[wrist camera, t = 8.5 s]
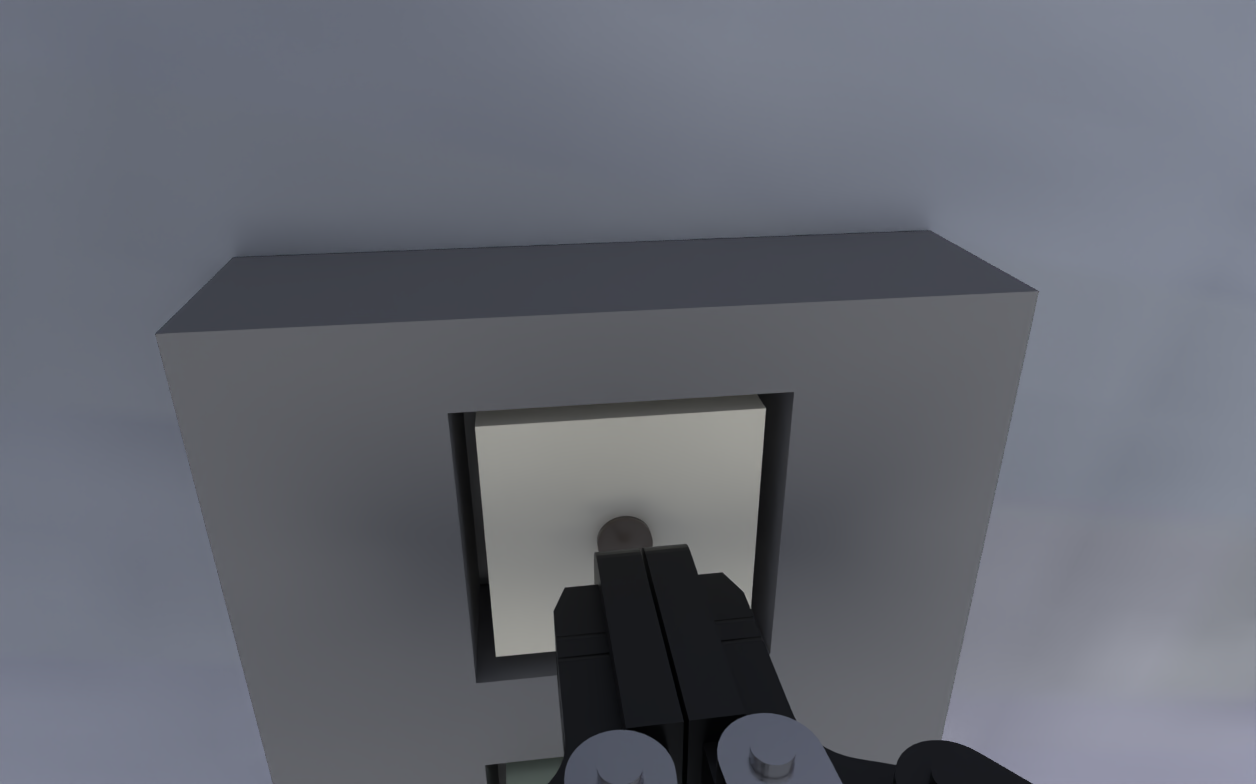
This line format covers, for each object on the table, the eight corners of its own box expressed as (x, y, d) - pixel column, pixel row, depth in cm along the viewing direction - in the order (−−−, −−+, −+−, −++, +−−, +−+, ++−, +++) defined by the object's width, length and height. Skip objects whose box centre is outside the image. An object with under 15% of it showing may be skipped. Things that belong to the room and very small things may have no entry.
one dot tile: (478, 367, 16) (474, 432, 14) (731, 353, 17) (769, 413, 14) (496, 575, 18) (496, 664, 16) (719, 557, 19) (751, 639, 17)
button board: (233, 257, 16) (155, 334, 12) (930, 230, 18) (1038, 291, 14) (393, 1020, 27) (377, 1179, 23) (817, 959, 28) (863, 1098, 25)
